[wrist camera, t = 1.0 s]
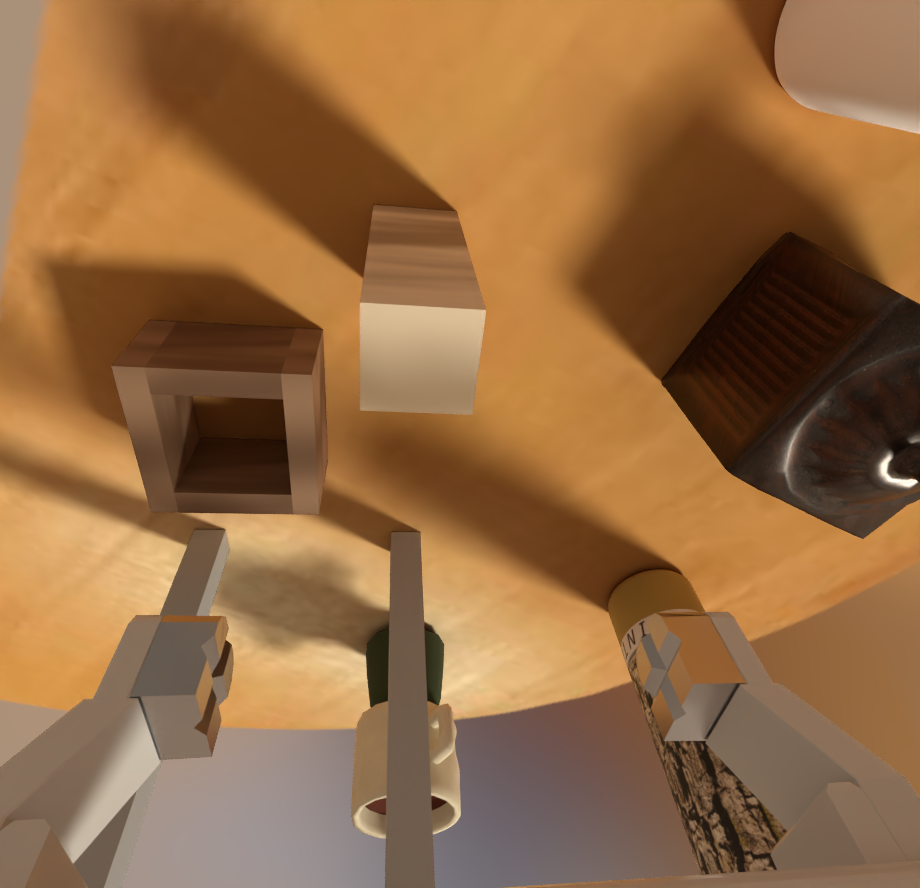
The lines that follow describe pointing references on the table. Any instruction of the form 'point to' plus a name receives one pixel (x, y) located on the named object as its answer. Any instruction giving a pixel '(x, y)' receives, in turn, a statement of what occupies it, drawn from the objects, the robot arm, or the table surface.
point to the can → (853, 59)
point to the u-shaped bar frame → (406, 720)
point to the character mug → (373, 743)
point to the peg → (419, 314)
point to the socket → (225, 375)
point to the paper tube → (694, 746)
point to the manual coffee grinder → (810, 387)
